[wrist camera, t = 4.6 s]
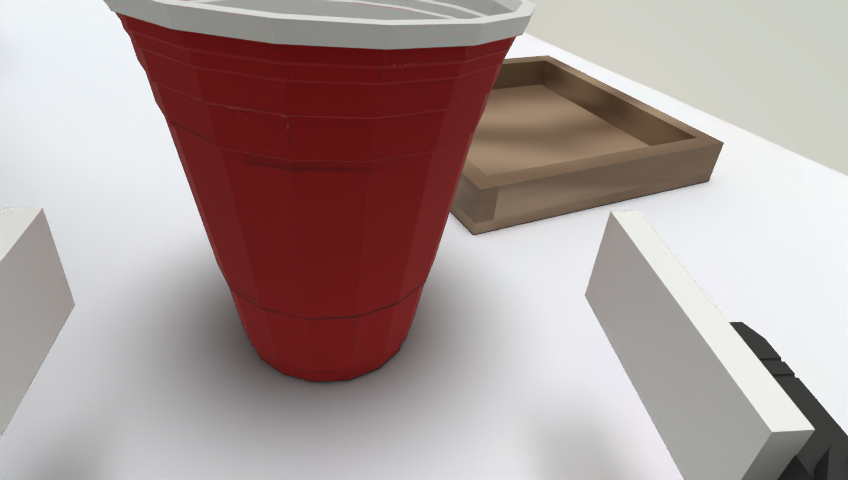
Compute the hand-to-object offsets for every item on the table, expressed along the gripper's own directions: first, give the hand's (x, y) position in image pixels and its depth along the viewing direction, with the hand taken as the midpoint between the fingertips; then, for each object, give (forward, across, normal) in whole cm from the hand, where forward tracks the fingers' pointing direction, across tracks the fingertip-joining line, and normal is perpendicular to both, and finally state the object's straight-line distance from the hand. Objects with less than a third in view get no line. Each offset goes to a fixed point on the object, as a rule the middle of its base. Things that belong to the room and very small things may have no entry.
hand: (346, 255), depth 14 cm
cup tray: (+21, +11, -6) cm, 24 cm away
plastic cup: (+5, 0, -7) cm, 8 cm away
